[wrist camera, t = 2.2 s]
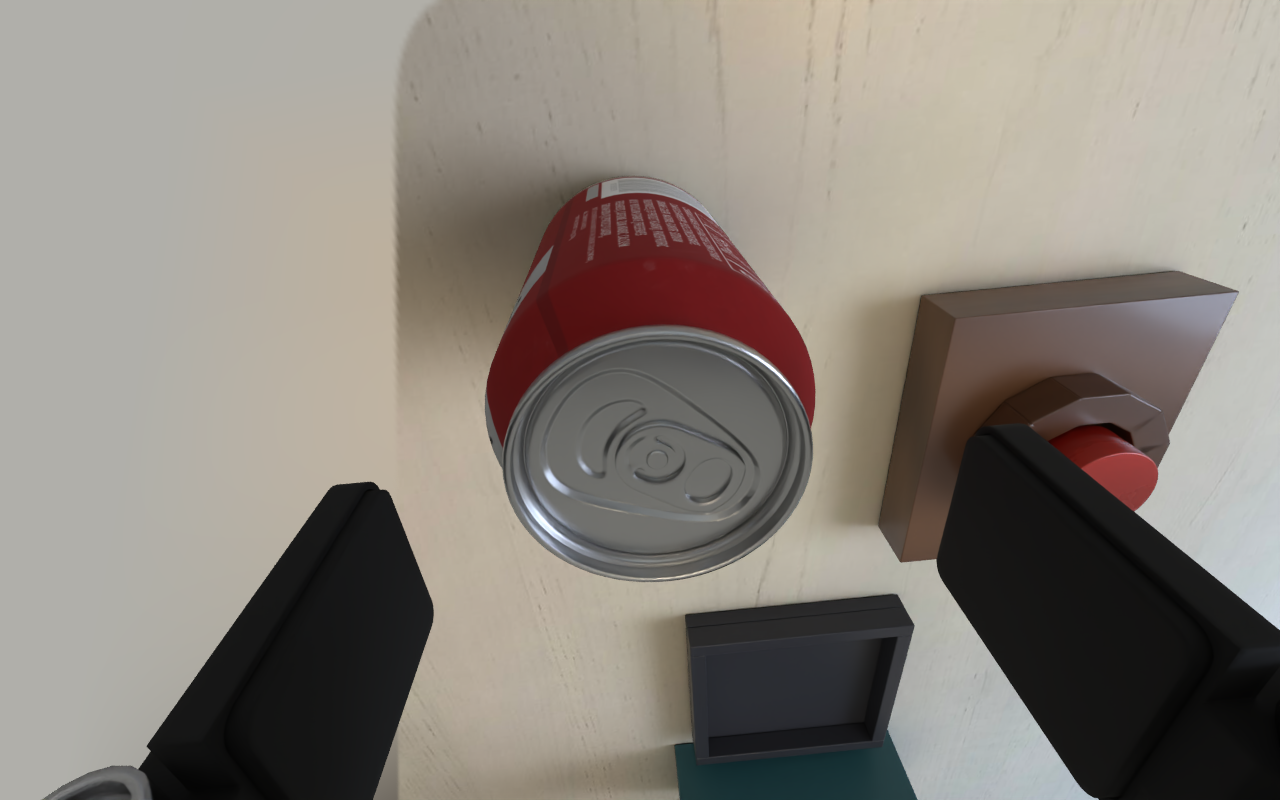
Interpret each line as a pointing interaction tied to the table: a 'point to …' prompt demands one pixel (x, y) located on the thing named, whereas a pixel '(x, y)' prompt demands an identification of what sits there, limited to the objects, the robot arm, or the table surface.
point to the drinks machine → (797, 776)
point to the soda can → (649, 390)
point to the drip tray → (795, 677)
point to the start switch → (1041, 377)
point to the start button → (1110, 462)
